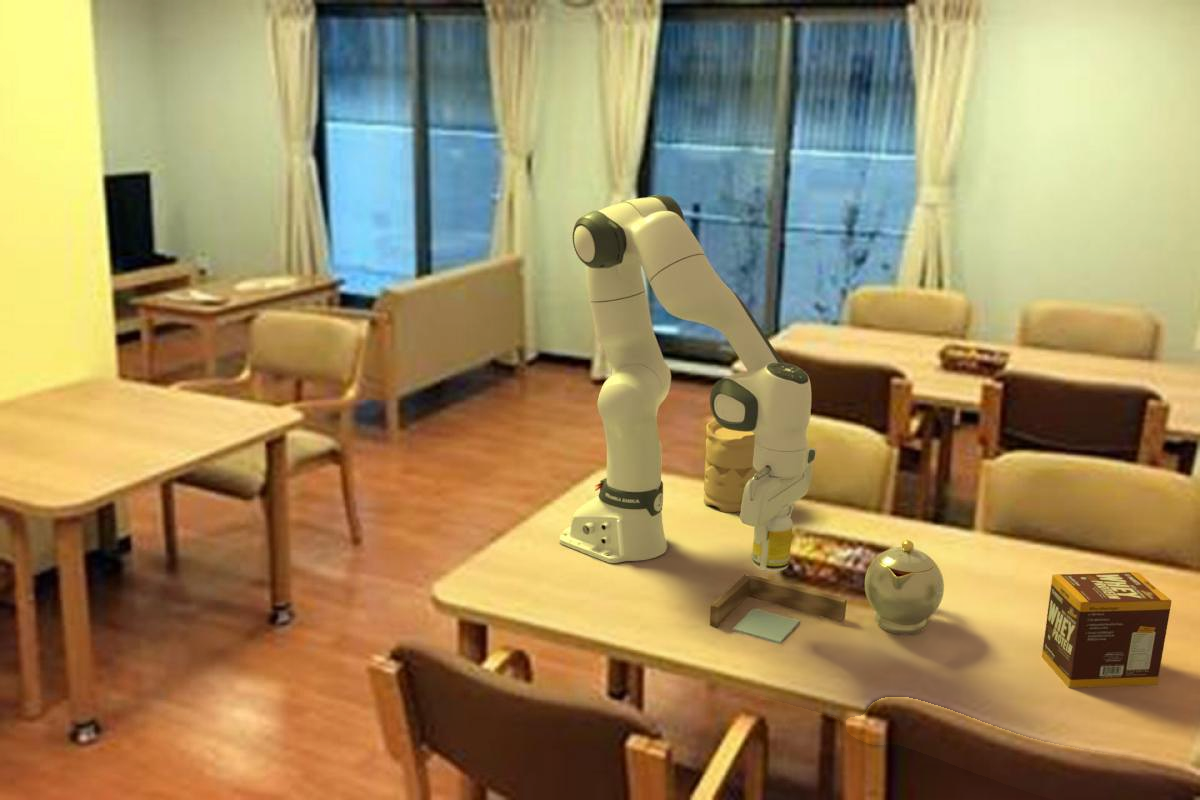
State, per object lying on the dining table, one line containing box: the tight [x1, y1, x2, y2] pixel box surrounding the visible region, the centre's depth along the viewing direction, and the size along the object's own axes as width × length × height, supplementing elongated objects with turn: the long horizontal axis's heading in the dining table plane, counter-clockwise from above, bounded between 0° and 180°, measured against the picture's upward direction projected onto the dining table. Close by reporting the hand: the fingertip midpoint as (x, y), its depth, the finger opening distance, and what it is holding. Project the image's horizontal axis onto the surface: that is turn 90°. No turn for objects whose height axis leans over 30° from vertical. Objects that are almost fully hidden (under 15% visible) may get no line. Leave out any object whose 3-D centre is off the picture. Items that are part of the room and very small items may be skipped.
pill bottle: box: [751, 504, 794, 572], centre depth 205 cm, size 6×6×12 cm
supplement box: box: [1041, 571, 1172, 689], centre depth 195 cm, size 10×15×16 cm
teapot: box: [864, 539, 945, 635], centre depth 211 cm, size 18×14×16 cm
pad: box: [732, 608, 800, 645], centre depth 210 cm, size 9×9×1 cm
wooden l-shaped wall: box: [709, 574, 848, 629], centre depth 212 cm, size 20×15×4 cm
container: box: [703, 419, 758, 514], centre depth 263 cm, size 13×13×18 cm
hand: (772, 533), depth 205 cm, fingers closed on pill bottle, 6 cm apart
